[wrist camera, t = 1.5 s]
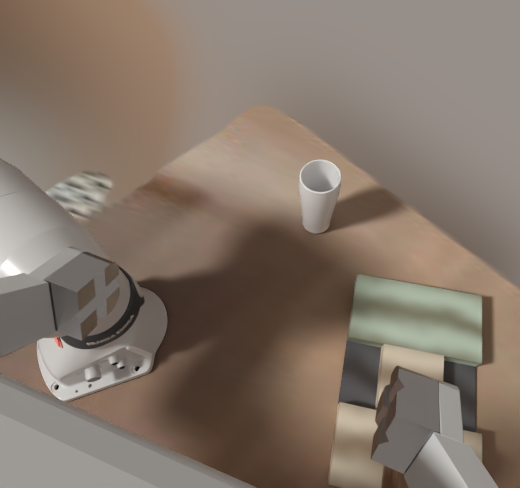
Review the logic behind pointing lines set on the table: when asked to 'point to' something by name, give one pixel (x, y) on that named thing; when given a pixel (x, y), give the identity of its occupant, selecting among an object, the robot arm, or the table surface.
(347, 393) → the board
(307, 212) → the drinking glass
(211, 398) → the table surface
